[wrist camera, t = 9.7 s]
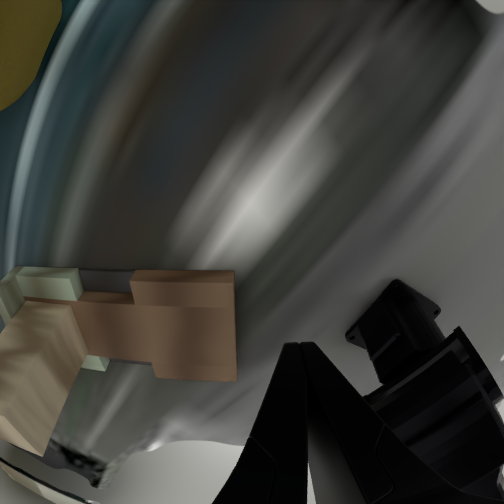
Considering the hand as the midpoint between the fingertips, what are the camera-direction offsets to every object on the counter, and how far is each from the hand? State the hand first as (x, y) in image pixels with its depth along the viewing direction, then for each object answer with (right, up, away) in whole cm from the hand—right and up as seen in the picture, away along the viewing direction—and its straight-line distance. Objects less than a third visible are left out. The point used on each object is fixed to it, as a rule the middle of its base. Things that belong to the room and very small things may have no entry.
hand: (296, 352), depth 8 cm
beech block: (-18, -4, +14) cm, 23 cm away
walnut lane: (-11, -3, +15) cm, 19 cm away
